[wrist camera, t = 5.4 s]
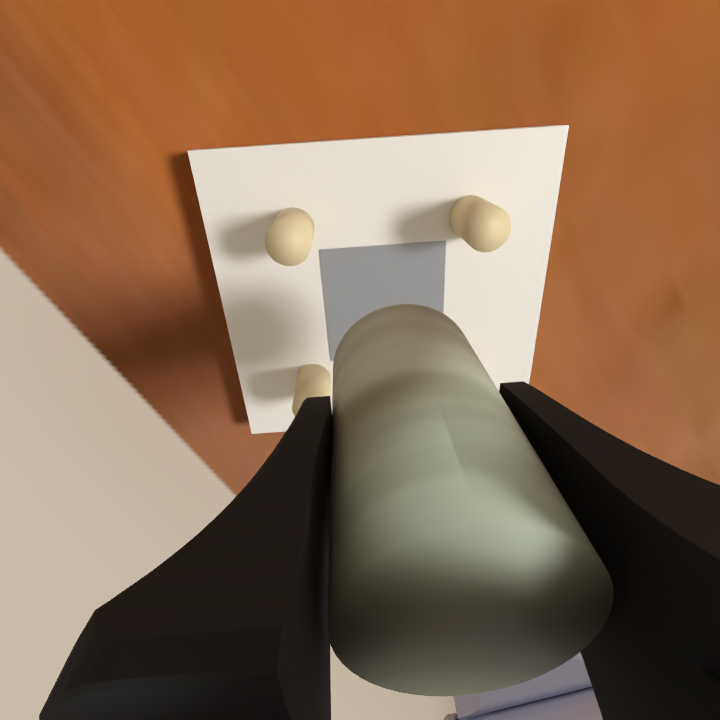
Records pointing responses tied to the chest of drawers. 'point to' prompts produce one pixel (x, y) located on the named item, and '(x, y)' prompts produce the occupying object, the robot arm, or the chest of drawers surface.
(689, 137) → the chest of drawers surface
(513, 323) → the base plate
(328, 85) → the chest of drawers surface
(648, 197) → the chest of drawers surface
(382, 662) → the peg
